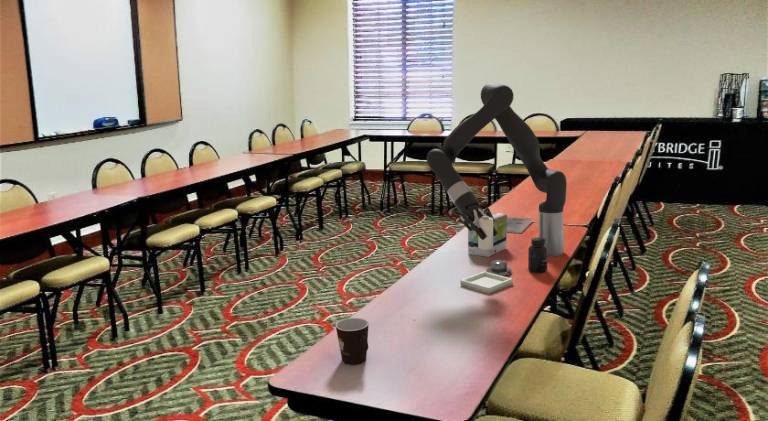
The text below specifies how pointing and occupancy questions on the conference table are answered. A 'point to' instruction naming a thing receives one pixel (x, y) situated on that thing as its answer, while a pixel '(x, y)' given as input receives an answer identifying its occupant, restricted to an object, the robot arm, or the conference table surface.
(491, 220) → the white knobbed cylinder
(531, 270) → the supplement bottle
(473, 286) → the tray
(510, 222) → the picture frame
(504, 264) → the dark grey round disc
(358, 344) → the coffee mug
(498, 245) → the tea box
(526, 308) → the conference table surface
